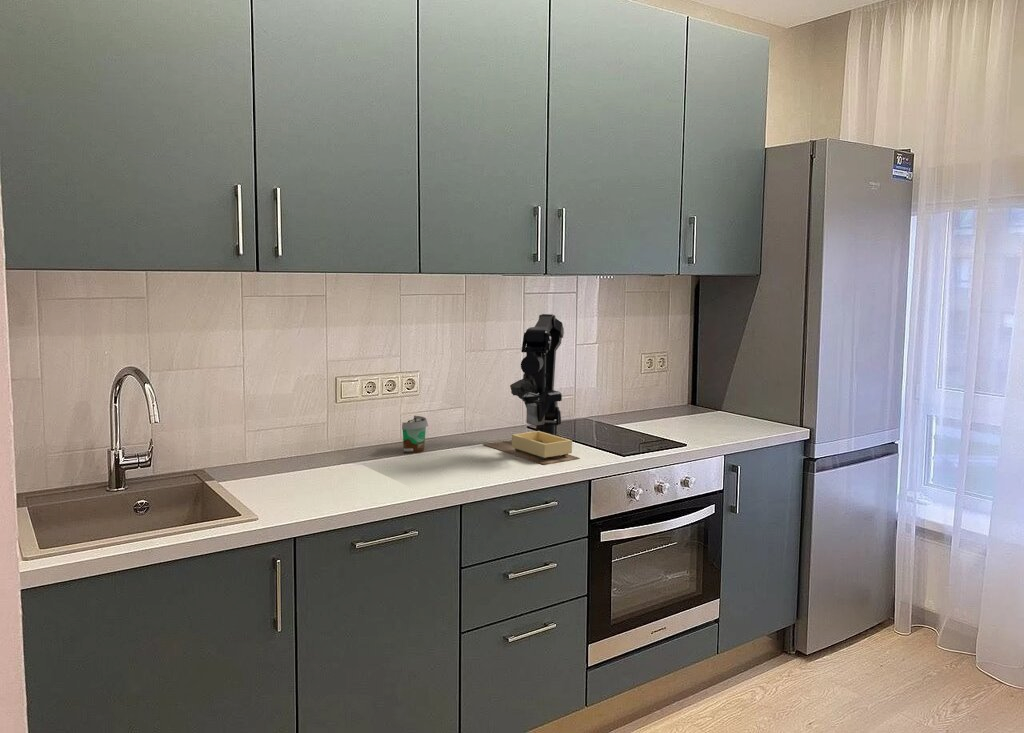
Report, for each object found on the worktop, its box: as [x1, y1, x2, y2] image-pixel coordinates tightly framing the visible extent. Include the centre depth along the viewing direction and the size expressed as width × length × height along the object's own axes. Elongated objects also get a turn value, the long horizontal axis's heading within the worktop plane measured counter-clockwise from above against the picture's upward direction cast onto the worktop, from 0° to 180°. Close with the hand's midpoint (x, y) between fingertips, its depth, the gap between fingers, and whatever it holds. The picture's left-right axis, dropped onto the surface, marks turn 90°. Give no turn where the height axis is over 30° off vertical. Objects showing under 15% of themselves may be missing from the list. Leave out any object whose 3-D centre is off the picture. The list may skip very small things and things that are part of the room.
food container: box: [401, 415, 429, 455], centre depth 263 cm, size 12×6×10 cm, turn 168°
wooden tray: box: [511, 430, 573, 460], centre depth 259 cm, size 11×17×5 cm, turn 36°
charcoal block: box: [525, 403, 545, 427], centre depth 257 cm, size 4×4×6 cm
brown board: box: [482, 439, 581, 466], centre depth 264 cm, size 14×32×1 cm, turn 36°
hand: (535, 420), depth 257 cm, fingers closed on charcoal block, 4 cm apart
